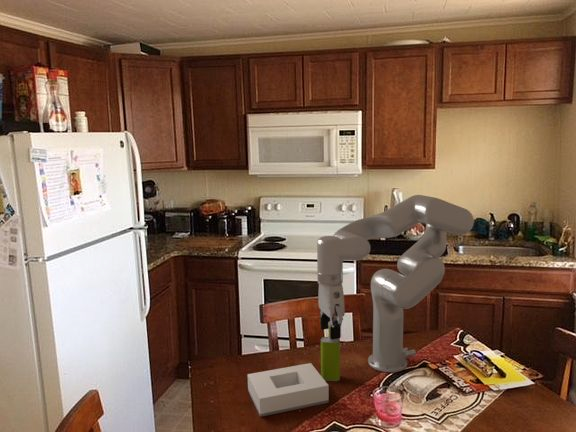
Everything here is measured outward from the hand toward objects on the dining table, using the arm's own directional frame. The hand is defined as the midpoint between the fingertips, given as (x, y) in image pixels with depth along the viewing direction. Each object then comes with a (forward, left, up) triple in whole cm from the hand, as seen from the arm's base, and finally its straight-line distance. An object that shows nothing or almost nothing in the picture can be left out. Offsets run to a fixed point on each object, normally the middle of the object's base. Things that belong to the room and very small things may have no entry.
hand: (330, 333), depth 147 cm
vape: (0, 0, -15) cm, 15 cm away
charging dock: (+16, +5, -15) cm, 22 cm away
